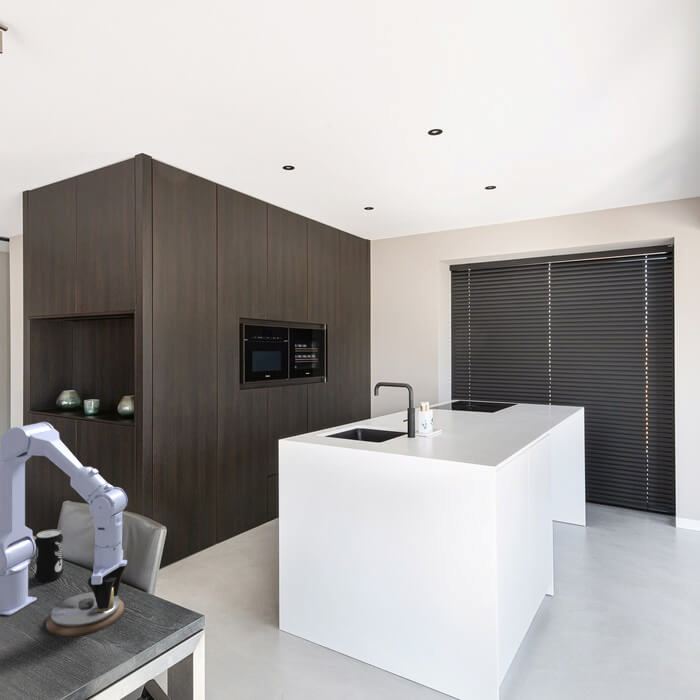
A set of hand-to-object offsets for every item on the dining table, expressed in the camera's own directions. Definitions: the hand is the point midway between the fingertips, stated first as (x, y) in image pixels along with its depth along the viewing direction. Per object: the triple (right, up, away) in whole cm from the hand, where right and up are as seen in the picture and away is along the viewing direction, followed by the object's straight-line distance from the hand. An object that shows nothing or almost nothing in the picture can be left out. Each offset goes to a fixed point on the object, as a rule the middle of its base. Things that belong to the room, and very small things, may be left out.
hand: (107, 601), depth 120 cm
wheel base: (-5, -3, 0) cm, 6 cm away
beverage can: (-25, -3, +20) cm, 32 cm away
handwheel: (-5, -2, 0) cm, 5 cm away
